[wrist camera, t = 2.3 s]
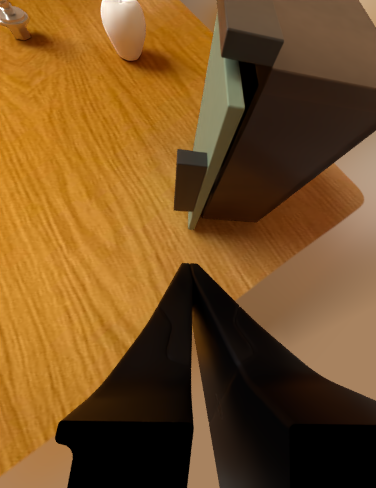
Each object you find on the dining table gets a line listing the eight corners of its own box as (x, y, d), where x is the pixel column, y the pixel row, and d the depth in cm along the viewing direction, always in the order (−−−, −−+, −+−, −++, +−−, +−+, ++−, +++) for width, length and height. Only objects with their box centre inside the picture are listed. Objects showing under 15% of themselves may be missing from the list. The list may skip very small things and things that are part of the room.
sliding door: (194, 230, 20) (245, 108, 7) (172, 228, 20) (180, 97, 6) (194, 173, 22) (231, 4, 9) (175, 171, 22) (185, -7, 9)
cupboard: (256, 222, 22) (447, 75, 7) (184, 217, 21) (227, 28, 6) (246, 138, 27) (346, -58, 12) (187, 130, 25) (213, -99, 10)
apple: (116, 68, 28) (97, -15, 20) (105, 44, 29) (83, -41, 22) (153, 65, 29) (148, -14, 22) (141, 42, 31) (132, -38, 23)
